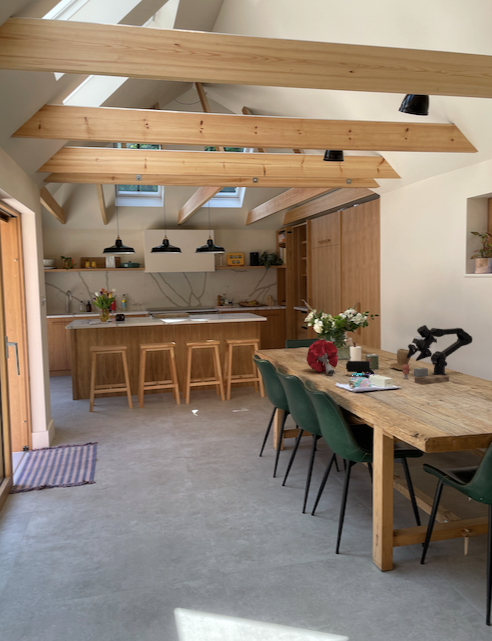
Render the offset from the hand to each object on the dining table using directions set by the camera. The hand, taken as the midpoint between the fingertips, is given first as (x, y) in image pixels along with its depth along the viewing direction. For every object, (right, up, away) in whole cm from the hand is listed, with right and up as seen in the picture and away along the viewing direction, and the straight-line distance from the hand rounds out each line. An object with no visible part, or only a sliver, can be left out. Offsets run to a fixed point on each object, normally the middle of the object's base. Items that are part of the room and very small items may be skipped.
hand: (411, 359), depth 335 cm
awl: (-5, -12, -4) cm, 14 cm away
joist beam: (+8, -13, -15) cm, 22 cm away
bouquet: (-55, -11, +24) cm, 61 cm away
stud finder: (+8, -12, +4) cm, 15 cm away
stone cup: (+2, -10, +29) cm, 31 cm away
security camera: (-32, -12, +8) cm, 35 cm away
